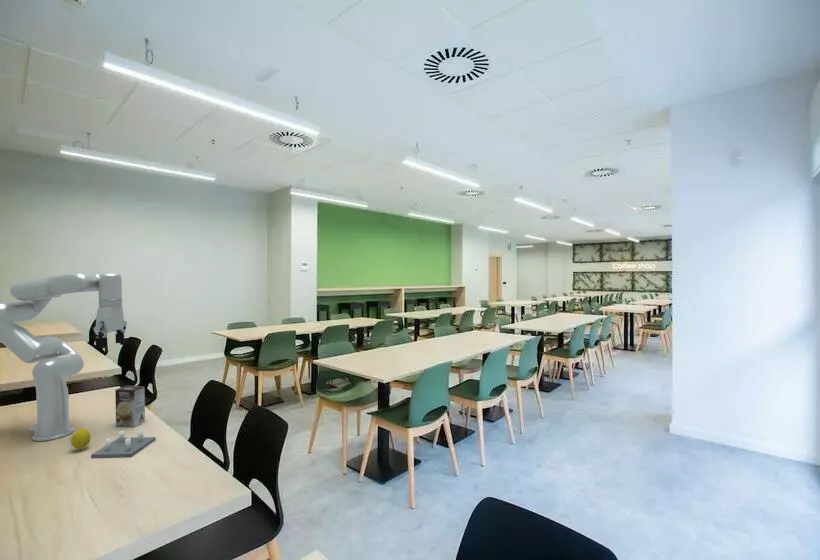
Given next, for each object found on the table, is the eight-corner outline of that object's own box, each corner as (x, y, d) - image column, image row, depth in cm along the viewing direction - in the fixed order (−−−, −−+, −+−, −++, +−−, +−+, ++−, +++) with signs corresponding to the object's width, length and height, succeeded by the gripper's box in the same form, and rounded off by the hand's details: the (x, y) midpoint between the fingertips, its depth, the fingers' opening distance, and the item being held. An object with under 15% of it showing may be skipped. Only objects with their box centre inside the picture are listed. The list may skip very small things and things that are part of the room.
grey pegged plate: (91, 458, 137) (90, 443, 137) (119, 440, 151) (119, 427, 151) (131, 457, 138) (131, 442, 138) (155, 439, 152) (155, 427, 152)
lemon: (79, 446, 147) (78, 425, 146) (94, 445, 147) (94, 425, 147) (67, 453, 141) (66, 431, 141) (83, 452, 142) (83, 431, 141)
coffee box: (114, 426, 165) (113, 389, 165) (127, 420, 172) (126, 385, 171) (134, 427, 164) (133, 390, 164) (146, 421, 171) (145, 385, 170)
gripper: (116, 302, 165) (117, 341, 166) (84, 305, 148) (85, 349, 148) (134, 301, 166) (135, 341, 166) (104, 305, 148) (105, 349, 149)
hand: (111, 345), depth 157 cm, fingers open, 9 cm apart
